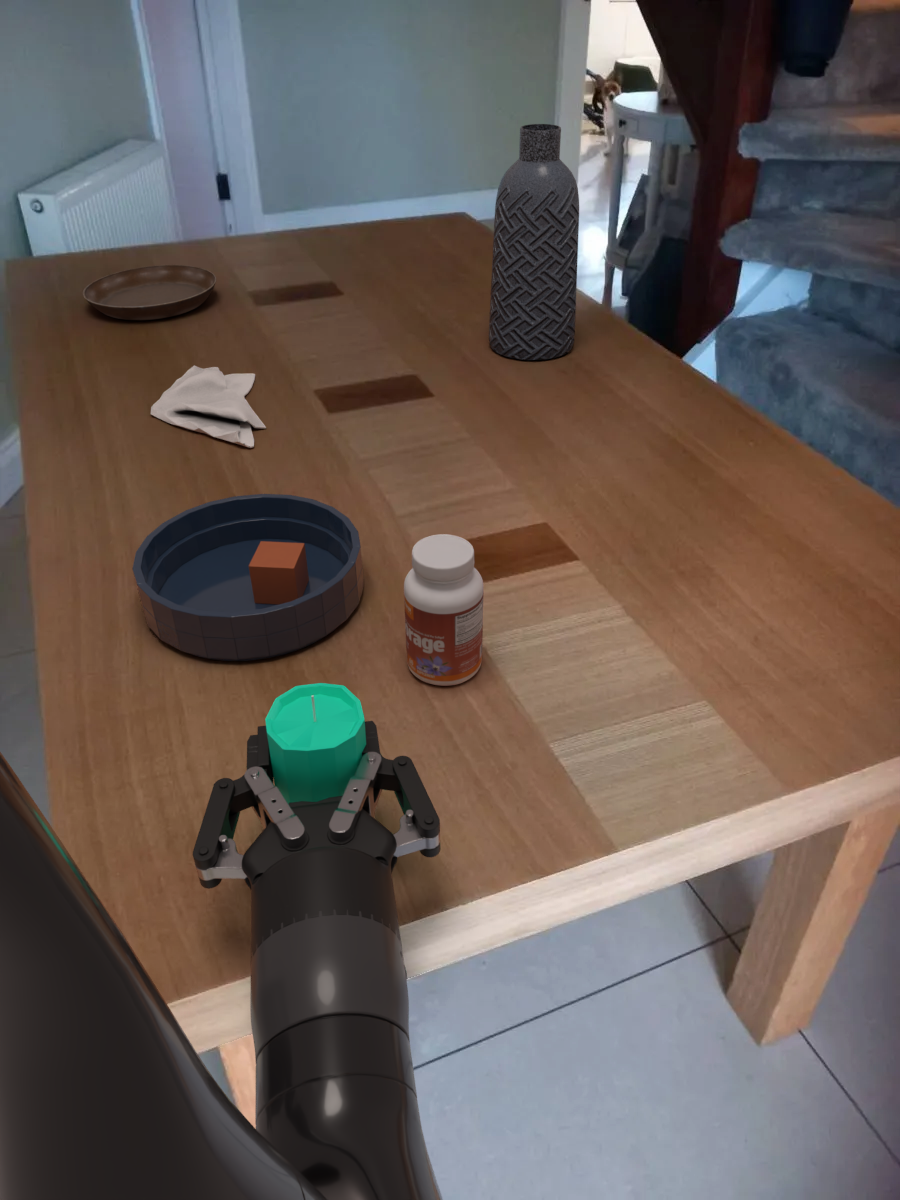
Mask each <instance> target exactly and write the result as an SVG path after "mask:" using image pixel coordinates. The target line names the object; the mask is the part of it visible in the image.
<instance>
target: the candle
mask: <svg viewBox="0 0 900 1200" xmlns="http://www.w3.org/2000/svg"><path fill="white" fill-rule="evenodd" d="M365 722H366V720H365V714H364V711H363V707H362V702H361V700H360V699H359V697H357V696H356V695H355V694H354V693H353V692H352V691H351V690H349V689H348V688H347V687H346V686H345V685H344V684H334V683H325V682H318V683H309V684H301V685H295V686H294V687H292V688H289V690H287V691H285V692H283V693H282V694H280V695H279V696H277V697H276V698H275V699H274V701H273V703H272V705H271V706H270V709H269V710H268V712H267V715H266V717H265V726H266V730H267V737H268V744H269V751H270V757H271V764H272V771H273V785H274V786H277V787H278V788H279V790H280V791H281V793H282V795H283V796H284V798H285V799H286V801H287V803H288V804H289V803H292V802H299V801H308V802H318V801H321V800H324V799H327V798H329V797H337V796H343V794H344V791H345V789H346V786H347V784H348V782H349V779H350V777H351V776H354V775H355V773H356V770H357V768H358V765H359V763H360V761H361V758H362V752H363V750H364V748H365V746H366V732H365Z"/></svg>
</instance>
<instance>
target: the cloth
mask: <svg viewBox="0 0 900 1200" xmlns="http://www.w3.org/2000/svg"><path fill="white" fill-rule="evenodd" d="M255 380H256V373H249V372H248V373H230V374H224V373H223V371H221V370H220V368H219V367H218V366H212V367H211V366H210V367H206V368H202V367H199V366H197V365H195V364H194V365H193V366H191V367H190V368H189V369H187V371H185V372H184V374H183V375H182V376H181V377H179V378H177V379H176V380H175V381H174V382H173V384H172V385H171V386H170V387H169V388H167V389H166V390H165V391H163V392H162V394H161V396H160V398H159V399H158V400H156V402H154V403H153V404H152V405H151V407H150V415H151V416H153V417H155V418H157V419H159V420H160V421H161V420H162V421H163V422H165V423H168V424H171V425H173V426H177V427H180V428H182V429H186V430H190V431H194V432H196V433H202V434H205V435H207V436H210V437H213V438H217V439H220V440H224V441H227V442H229V443H232V444H237V445H239V446H243V447H246V448H248V449H249V448H250V449H251V448H254V447H255V438H254V435H253V434H254V433H253V431H252V427H253V428H254V429H267V426H266V425H265V424H264V422H263V421H262V420H261V419H260V417H259V416H258V415H257V413H256V412H255V411H254V409H253V408H252V407H251V405H250V403H249V402H248V400H247V399H246V398H245V397H246V396H247V395H248V394H249V393H250V391H251V390H252V388H253V386H254V384H255Z"/></svg>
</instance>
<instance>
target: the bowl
mask: <svg viewBox="0 0 900 1200" xmlns="http://www.w3.org/2000/svg"><path fill="white" fill-rule="evenodd" d="M261 541H267V542H288V543H304V544H305V552H306V560H307V568H308V576H309V581H308V583H307V586H306V589H305V591H304V594H303V596H302V597H300V598H298V599H295V600H293V601H290V602H286V603H283V604H279V605H278V604H259V603H255V601H254V595H253V589H252V584H251V578H250V572H249V564H250V562H251V560H252V558H253V556H254V554H255V552H256V550H257V548H258V546H259V544H260V542H261ZM361 547H362V546H361V539H360V533H359V531H358V529H357V527H356V526H355V524H354V523H353V522H352V520H351V519H350V518H349V517H348V516H347V515H345V514H344V513H342V512H341V511H340V510H338V509H337V508H336V507H334V506H332V505H329V504H326V503H324V502H321V501H319V500H317V499H313V498H309V497H303V496H298V495H293V494H279V493H256V494H243V495H233V496H229V497H225V498H221V499H216V500H215V499H214V500H211V501H207V502H205V503H202V504H200V505H196V506H194V507H191V508H188V509H185V510H183V511H181V512H180V513H178V514H176V515H175V516H173V517H171V518H169V519H168V520H165V521H163V522H162V523H160V525H158V526H157V527H156V528H155V529H154V530H152V531H151V532H150V533H149V534H148V535H146V536H145V538H144V539H143V541H142V542H141V544H140V545H139V547H138V548H137V550H136V551H135V555H134V560H133V564H132V573H133V577H134V581H135V584H136V588H137V592H138V597H139V600H140V604H141V608H142V612H143V613H144V614H143V615H144V618H145V621H146V624H147V627H148V628H149V629H150V630H151V631H152V632H153V633H154V635H156V636H157V637H158V639H160V640H161V641H162V642H164V643H166V644H167V645H169V646H171V647H173V648H175V649H177V650H179V651H180V652H183V653H186V654H188V655H192V656H195V657H199V658H203V659H207V660H215V661H222V662H223V661H225V662H249V661H258V660H266V659H271V658H275V657H279V656H285V655H287V654H290V653H293V652H296V651H297V652H298V651H300V650H302V649H305V648H307V647H309V646H311V645H313V644H315V643H317V642H318V641H321V640H322V639H324V638H325V637H328V635H330V634H331V633H333V632H334V631H336V629H338V628H339V627H341V625H342V624H343V623H344V622H346V621H347V620H348V619H349V617H351V615H352V613H354V610H355V609H357V607H358V606H359V604H360V601H361V598H362V594H363V591H364V587H365V584H364V573H363V571H364V570H363V560H362V559H363V557H362V548H361Z"/></svg>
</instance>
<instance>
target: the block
mask: <svg viewBox="0 0 900 1200" xmlns="http://www.w3.org/2000/svg"><path fill="white" fill-rule="evenodd" d="M249 572H250V578H251V584H252V589H253V595H254V601H255V603H259V604H278V605H279V604H283V603H286V602H290V601H293V600H295V599H298V598H300V597H302V596H303V594H304V591H305V589H306V586H307V583H308V581H309V576H308V568H307V560H306V552H305V544H304V543H288V542H267V541H261V542H260V544H259V546H258V548H257V550H256V552H255V554H254V556H253V558H252V560H251V562H250V564H249Z"/></svg>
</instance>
